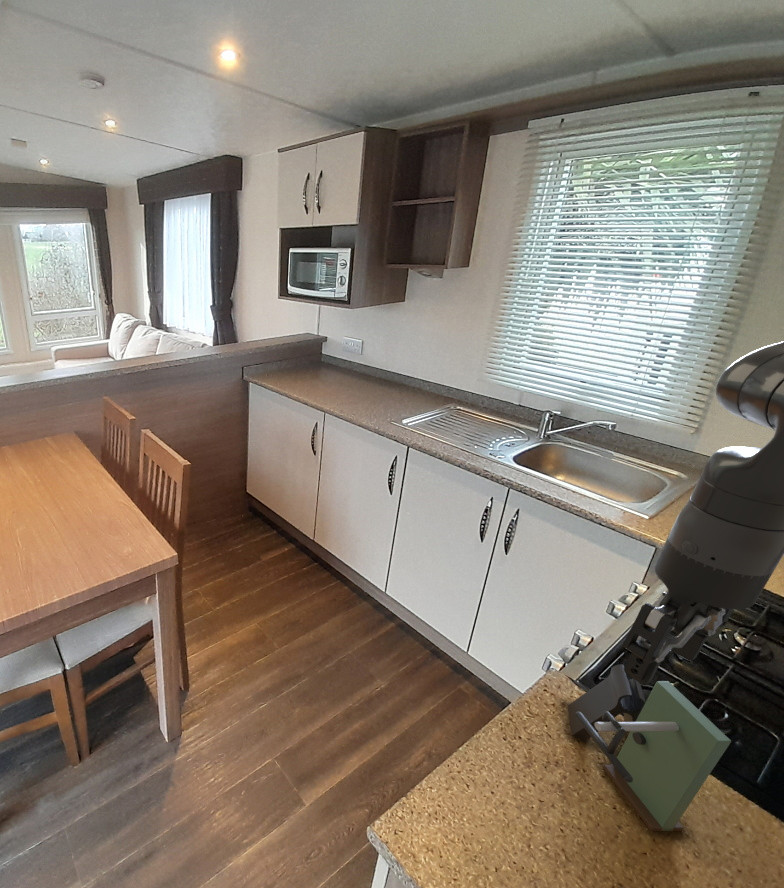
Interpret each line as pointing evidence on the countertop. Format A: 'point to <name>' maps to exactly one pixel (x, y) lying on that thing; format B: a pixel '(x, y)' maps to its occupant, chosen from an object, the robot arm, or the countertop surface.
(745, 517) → the robot arm
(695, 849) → the countertop surface
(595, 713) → the phone stand
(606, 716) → the hanger
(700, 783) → the door panel
